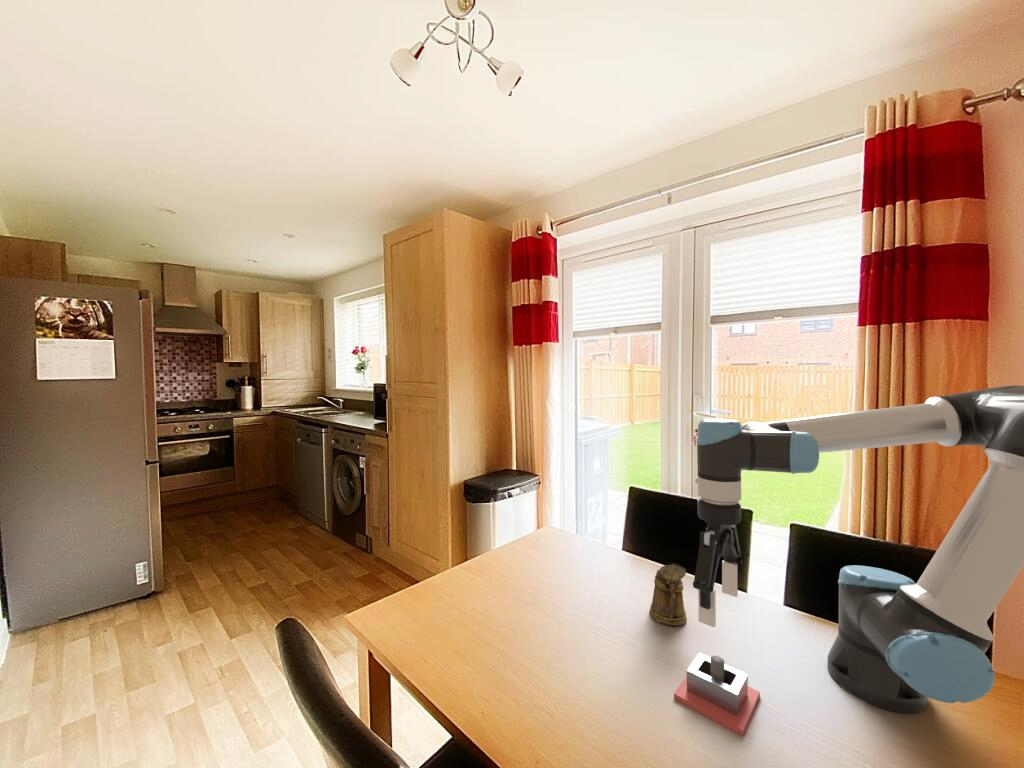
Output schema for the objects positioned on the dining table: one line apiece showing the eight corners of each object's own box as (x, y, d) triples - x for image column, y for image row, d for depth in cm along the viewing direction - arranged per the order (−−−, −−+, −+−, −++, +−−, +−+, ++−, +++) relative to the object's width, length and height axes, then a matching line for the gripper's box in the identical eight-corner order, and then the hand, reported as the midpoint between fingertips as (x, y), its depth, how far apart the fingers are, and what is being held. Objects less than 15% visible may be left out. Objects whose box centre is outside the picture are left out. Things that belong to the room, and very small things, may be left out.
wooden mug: (653, 635, 99) (654, 561, 98) (647, 604, 112) (648, 539, 111) (693, 640, 97) (694, 565, 96) (682, 608, 110) (683, 542, 109)
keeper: (759, 696, 80) (760, 659, 80) (742, 736, 71) (743, 694, 71) (696, 666, 88) (696, 632, 88) (674, 698, 79) (674, 660, 79)
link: (747, 694, 79) (747, 674, 79) (737, 716, 74) (737, 694, 74) (699, 671, 85) (699, 652, 85) (686, 690, 80) (686, 670, 80)
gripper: (718, 483, 90) (719, 577, 91) (673, 510, 72) (673, 629, 73) (757, 489, 85) (757, 589, 85) (718, 520, 67) (719, 648, 67)
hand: (719, 608), depth 79 cm, fingers open, 13 cm apart
